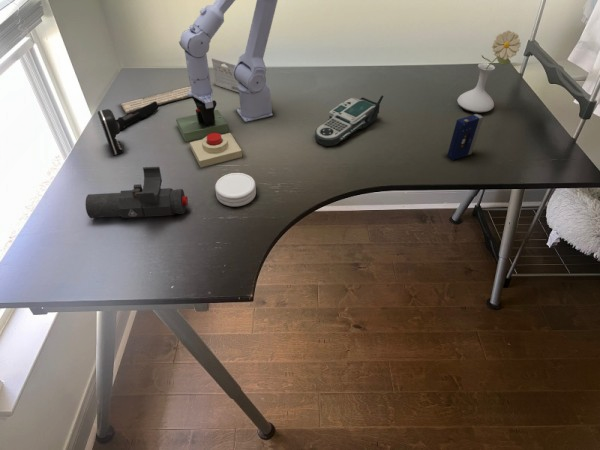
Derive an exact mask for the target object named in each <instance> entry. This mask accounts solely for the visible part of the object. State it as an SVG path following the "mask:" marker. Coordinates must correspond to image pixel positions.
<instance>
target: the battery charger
mask: <svg viewBox="0 0 600 450" xmlns="http://www.w3.org/2000/svg"><path fill="white" fill-rule="evenodd" d="M97 115H98V118H99V121H100V124H101V127H102V129H103V131H104V132H103V133H104V135H105V139H106V141H107V144H108V147H109V149H110V152H111V154H112V155H113V156H116V155H119V154H122V153H123V152H124V148H123V145H122V144H121V141H120V140H118V139H116V137H117V135H119V134H120V133H121V130H119V127H118V124H117V122H116V120H117V119H116V117H115V114H114V112H113V111H112V110H111V109H109V108H107V109H103V110H102V109H100V110H98V111H97Z"/></svg>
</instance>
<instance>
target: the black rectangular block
mask: <svg viewBox="0 0 600 450" xmlns="http://www.w3.org/2000/svg"><path fill="white" fill-rule="evenodd" d="M195 115H197V120H198V122H199V123H201V122H204V120H203V117H202V114H201V112H200V110H199V109H197V108H196V109H195ZM214 119H215V115H214V113H213V120H214Z"/></svg>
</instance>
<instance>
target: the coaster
mask: <svg viewBox="0 0 600 450" xmlns="http://www.w3.org/2000/svg"><path fill="white" fill-rule="evenodd" d="M256 188H257V187H256V181H255V179H254V178H253V177H252V176H251V175H248V174H246V173H242V172H230V173H228V174H227V173H226V174H225V175H223V176H221V177H220V178H219V179H217V181H216V182H215V185H214V190H215V196H216V199H217V201H218V202H219V203H220V204H222V205H224V206H227V207H232V208H233V207H236V208H237V207H242V206H245V205H247V204H250V203H251V202H252V201H253V200H254V199H255V198H256V194H257V189H256Z"/></svg>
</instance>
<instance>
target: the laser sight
mask: <svg viewBox="0 0 600 450" xmlns="http://www.w3.org/2000/svg"><path fill="white" fill-rule="evenodd" d="M142 170H143V178H144V179H143V185H142V184H141V183H140V184H139V183H138V184H133V188H132V189H129V190H126V189H125V190H120V192H110V193H109V192H108V193H90V194H87V195H86V197H85V203H84V205H85V211H86V214H87V216H88V218H90V219H95V218H113V217H115V218H116V217H122V218H125V219H127V218H145V217H146V218H147V217H162V216H163V217H165V216H175V214H181V215H182V214H185V212H186V207H188V205H189V199H188V195H185V191H184V189H183V188H177V189H176V188H175V189H173V188H171V187H167V188H161V187H162V183H163V179H162V174H161V169H160V166H144V167H142Z"/></svg>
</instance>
